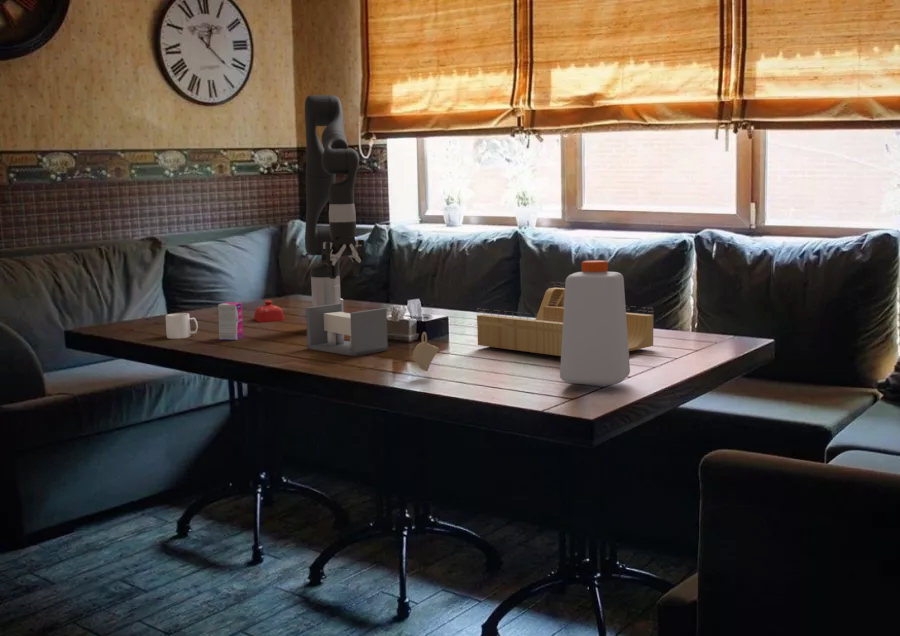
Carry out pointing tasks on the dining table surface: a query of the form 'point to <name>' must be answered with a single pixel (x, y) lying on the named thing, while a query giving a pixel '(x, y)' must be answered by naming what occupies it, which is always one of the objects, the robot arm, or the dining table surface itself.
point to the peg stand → (364, 331)
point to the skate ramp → (550, 328)
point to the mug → (179, 325)
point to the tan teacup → (424, 353)
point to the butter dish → (268, 313)
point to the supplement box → (230, 321)
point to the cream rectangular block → (338, 323)
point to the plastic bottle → (594, 327)
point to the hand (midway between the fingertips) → (344, 277)
